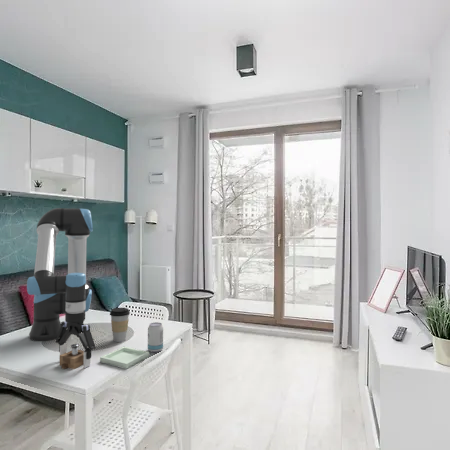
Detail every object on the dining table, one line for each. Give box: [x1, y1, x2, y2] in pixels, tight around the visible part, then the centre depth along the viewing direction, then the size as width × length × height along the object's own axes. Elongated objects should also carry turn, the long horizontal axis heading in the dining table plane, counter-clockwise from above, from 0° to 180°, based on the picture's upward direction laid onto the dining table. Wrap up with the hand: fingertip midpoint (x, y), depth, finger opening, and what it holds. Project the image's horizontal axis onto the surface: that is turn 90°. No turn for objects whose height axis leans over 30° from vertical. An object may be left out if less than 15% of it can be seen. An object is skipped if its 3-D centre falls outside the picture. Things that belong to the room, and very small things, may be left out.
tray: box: [99, 346, 150, 370], centre depth 145 cm, size 14×14×2 cm
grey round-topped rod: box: [70, 343, 80, 357], centre depth 140 cm, size 3×3×8 cm
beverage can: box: [147, 321, 164, 354], centre depth 155 cm, size 7×7×12 cm
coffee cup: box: [109, 307, 131, 343], centre depth 168 cm, size 9×9×15 cm
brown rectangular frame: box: [58, 349, 85, 370], centre depth 139 cm, size 10×8×4 cm
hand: (74, 363), depth 140 cm, fingers open, 13 cm apart
